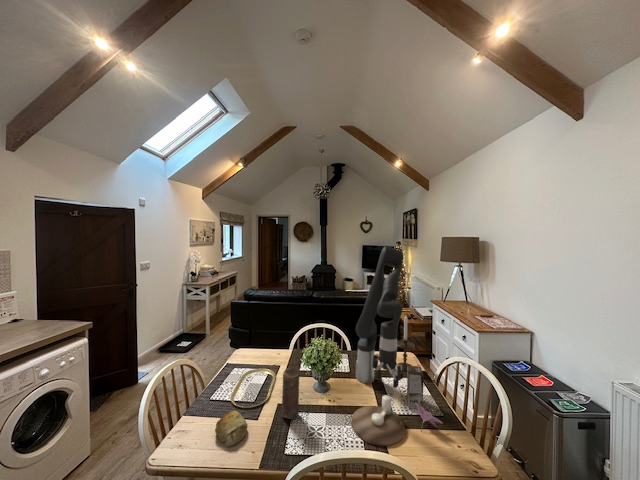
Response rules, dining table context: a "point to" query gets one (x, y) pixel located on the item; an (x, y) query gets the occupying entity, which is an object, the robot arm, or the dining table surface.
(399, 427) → the brown flat rounded piece
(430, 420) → the lily
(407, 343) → the candlestick
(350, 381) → the dining table surface
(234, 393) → the brass oval ring
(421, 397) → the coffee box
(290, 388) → the candle
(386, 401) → the tuning crank
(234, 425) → the pastry
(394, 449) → the dining table surface
